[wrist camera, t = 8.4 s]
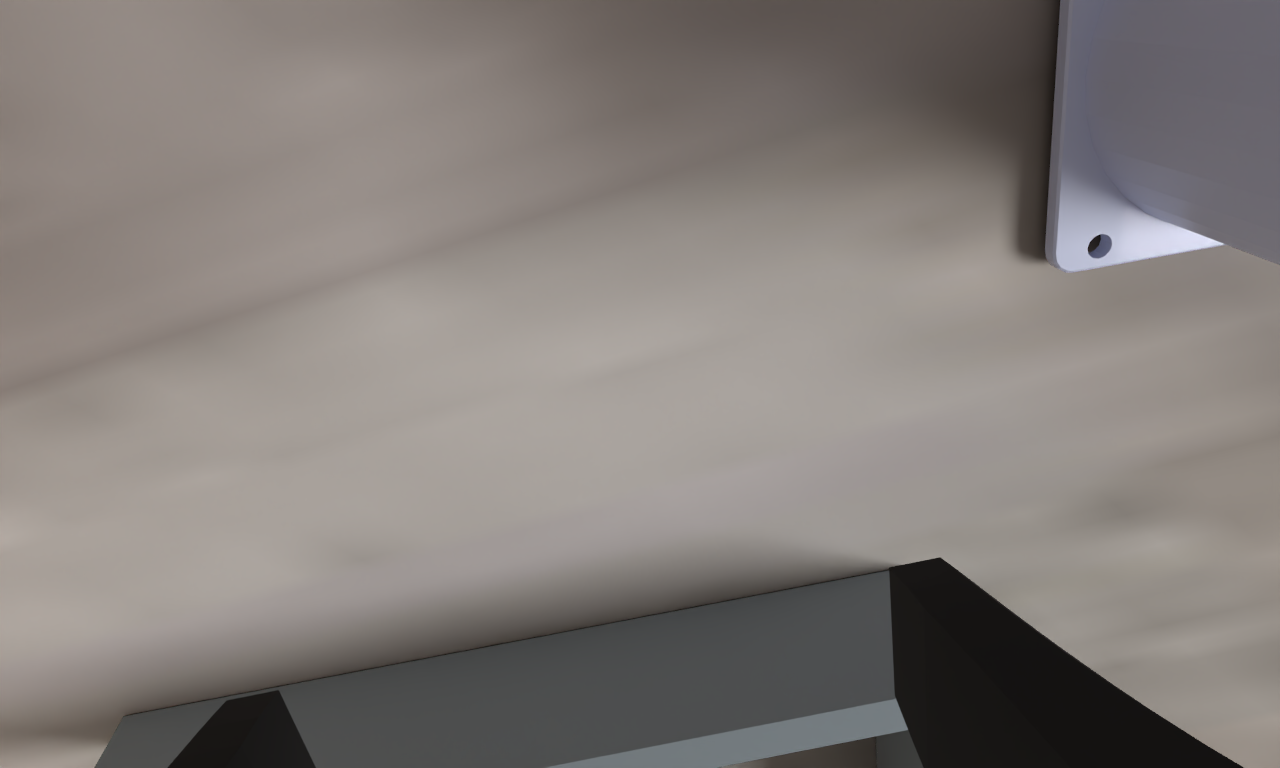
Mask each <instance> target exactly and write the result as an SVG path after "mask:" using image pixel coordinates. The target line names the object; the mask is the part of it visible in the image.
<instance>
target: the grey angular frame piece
mask: <svg viewBox="0 0 1280 768" xmlns="http://www.w3.org/2000/svg"><path fill="white" fill-rule="evenodd" d="M276 690H279V692H280V694H281V696H282V698H283V700H284V702H285V704H286V706H287V708H288V710H289V713H290V715H291V717H292V719H293V721H294V723H295V725H296V727H297V729H298V731H299V733H300V736H301V738H302V740H303V742H304V744H305V746H306V748H307V750H308V752H309V754H310V756H311V759H312V761H313V763H314V765H315V767H316V768H718V767H723V766H728V765H733V764H738V763H743V762H748V761H753V760H758V759H763V758H768V757H773V756H779V755H784V754H789V753H794V752H799V751H804V750H809V749H814V748H819V747H824V746H829V745H834V744H839V743H845V742H850V741H855V740H860V739H865V738H870V737H875V736H876V759H877V768H923V765H922V763H921V760H920V758H919V756H918V753H917V751H916V748H915V746H914V743H913V741H912V738H911V736H910V733H909V731H908V728H907V726H906V723H905V720H904V718H903V715H902V713H901V710H900V708H899V705H898V702H897V700H896V697H895V690H894V667H893V645H892V622H891V599H890V577H889V570H888V571H883V572H878V573H873V574H867V575H862V576H857V577H852V578H846V579H841V580H836V581H831V582H825V583H820V584H815V585H810V586H804V587H799V588H794V589H789V590H784V591H778V592H773V593H768V594H763V595H757V596H752V597H747V598H742V599H736V600H731V601H726V602H721V603H715V604H710V605H705V606H700V607H694V608H689V609H684V610H679V611H673V612H668V613H663V614H658V615H652V616H647V617H642V618H637V619H632V620H626V621H621V622H616V623H611V624H605V625H600V626H595V627H590V628H584V629H579V630H574V631H569V632H563V633H558V634H553V635H548V636H542V637H537V638H532V639H527V640H521V641H516V642H511V643H506V644H500V645H495V646H490V647H485V648H480V649H474V650H469V651H464V652H459V653H453V654H448V655H443V656H438V657H432V658H427V659H422V660H417V661H411V662H406V663H401V664H396V665H390V666H385V667H380V668H375V669H369V670H364V671H359V672H354V673H348V674H343V675H338V676H333V677H328V678H322V679H317V680H312V681H307V682H301V683H296V684H291V685H286V686H280V687H275V688H270V689H265V690H259V691H254V692H249V693H244V694H238V695H233V696H228V697H223V698H217V699H212V700H207V701H202V702H196V703H191V704H186V705H181V706H176V707H170V708H165V709H160V710H155V711H149V712H144V713H139V714H134V715H128V716H124V717H123V718H122V720H121V722H120V724H119V725H118V727H117V729H116V731H115V733H114V734H113V736H112V738H111V740H110V741H109V743H108V745H107V747H106V748H105V750H104V752H103V754H102V755H101V757H100V759H99V761H98V762H97V764H96V766H95V768H168V766H169V765H170V764H171V763H172V762H173V761H174V759H175V758H176V757H177V756H178V755H179V753H180V752H181V751H182V750H183V749H184V748H185V746H186V745H187V744H188V743H189V742H190V741H191V739H192V738H193V737H194V736H195V735H196V734H197V733H198V731H199V730H200V729H201V728H202V727H203V726H204V725H205V723H206V722H207V721H208V720H209V719H210V718H211V717H212V716H213V714H214V713H215V712H216V711H217V710H218V709H219V708H220V707H221V706H222V705H223V704H224V703H225V701H226V700H231V699H236V698H241V697H246V696H251V695H256V694H261V693H266V692H271V691H276Z"/></svg>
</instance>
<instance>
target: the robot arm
mask: <svg viewBox="0 0 1280 768" xmlns="http://www.w3.org/2000/svg"><path fill="white" fill-rule="evenodd" d="M1098 235H1100V236H1101V241H1100V243H1099V246H1098V247H1097V248H1096V249H1095V250H1094V251H1092V252H1090V253H1088V246H1089V243H1090V241H1091V240H1092V239H1093V238H1094V237H1095V236H1098ZM1222 245H1228V246H1231V247H1234V248H1236V249H1239V250H1241V251H1244V252H1247V253H1249V254H1252V255H1255V256H1257V257H1260V258H1262V259H1265V260H1268V261H1270V262H1273V263H1276V264H1278V265H1280V0H1060V15H1059V31H1058V47H1057V63H1056V79H1055V95H1054V112H1053V128H1052V144H1051V160H1050V176H1049V192H1048V208H1047V224H1046V240H1045V254H1046V259H1047V260H1048V262H1049V263H1050V265H1052V266H1054V267H1056V268H1058V269H1060V270H1062V271H1064V272H1078V271H1084V270H1090V269H1095V268H1101V267H1106V266H1112V265H1117V264H1123V263H1128V262H1134V261H1139V260H1145V259H1150V258H1156V257H1162V256H1167V255H1173V254H1178V253H1184V252H1189V251H1195V250H1200V249H1206V248H1211V247H1217V246H1222ZM889 577H890V599H891V622H892V645H893V667H894V690H895V697H896V700H897V702H898V705H899V708H900V710H901V713H902V715H903V718H904V720H905V723H906V726H907V728H908V731H909V733H910V736H911V738H912V741H913V743H914V746H915V748H916V751H917V753H918V756H919V758H920V760H921V763H922V765H923V768H1244V767H1242V766H1240V765H1239V764H1237V763H1235V762H1233V761H1232V760H1230V759H1228V758H1227V757H1225V756H1223V755H1222V754H1220V753H1218V752H1217V751H1215V750H1213V749H1212V748H1210V747H1208V746H1207V745H1205V744H1203V743H1202V742H1200V741H1199V740H1197V739H1195V738H1194V737H1192V736H1191V735H1189V734H1188V733H1186V732H1184V731H1183V730H1181V729H1180V728H1178V727H1177V726H1175V725H1174V724H1172V723H1170V722H1169V721H1167V720H1166V719H1164V718H1163V717H1161V716H1159V715H1158V714H1156V713H1155V712H1153V711H1152V710H1150V709H1148V708H1147V707H1145V706H1144V705H1143V704H1141V703H1140V702H1138V701H1137V700H1135V699H1134V698H1132V697H1131V696H1129V695H1128V694H1126V693H1125V692H1123V691H1122V690H1120V689H1119V688H1117V687H1116V686H1114V685H1113V684H1111V683H1110V682H1109V681H1107V680H1106V679H1104V678H1103V677H1101V676H1100V675H1099V674H1097V673H1096V672H1094V671H1093V670H1091V669H1090V668H1089V667H1087V666H1086V665H1084V664H1083V663H1082V662H1080V661H1079V660H1077V659H1076V658H1074V657H1073V656H1072V655H1070V654H1069V653H1067V652H1066V651H1064V650H1063V649H1062V648H1060V647H1059V646H1057V645H1056V644H1055V643H1053V642H1052V641H1051V640H1049V639H1048V638H1047V637H1045V636H1044V635H1042V634H1041V633H1040V632H1038V631H1037V630H1036V629H1034V628H1033V627H1032V626H1030V625H1029V624H1028V623H1026V622H1025V621H1024V620H1022V619H1021V618H1020V617H1018V616H1017V615H1016V614H1014V613H1013V612H1012V611H1010V610H1009V609H1008V608H1006V607H1005V606H1004V605H1002V604H1001V603H1000V602H998V601H997V600H996V599H995V598H993V597H992V596H991V595H989V594H988V593H987V592H985V591H984V590H983V589H981V588H980V587H979V586H978V585H976V584H975V583H974V582H972V581H971V580H970V579H968V578H967V577H966V576H964V575H963V574H962V573H961V572H959V571H958V570H957V569H955V568H954V567H953V566H951V565H950V564H949V563H947V562H946V561H944V560H943V559H941V558H935V559H930V560H925V561H920V562H915V563H910V564H905V565H900V566H895V567H890V568H889ZM168 768H316V767H315V765H314V763H313V761H312V759H311V756H310V754H309V752H308V750H307V748H306V746H305V744H304V742H303V740H302V738H301V736H300V733H299V731H298V729H297V727H296V725H295V723H294V721H293V719H292V717H291V715H290V713H289V710H288V708H287V706H286V704H285V702H284V700H283V698H282V696H281V694H280V692H279V690H276V691H271V692H266V693H261V694H256V695H251V696H246V697H241V698H236V699H231V700H226V701H225V703H224V704H223V705H222V706H221V707H220V708H219V709H218V710H217V711H216V712H215V713H214V714H213V716H212V717H211V718H210V719H209V720H208V721H207V722H206V723H205V725H204V726H203V727H202V728H201V729H200V730H199V731H198V733H197V734H196V735H195V736H194V737H193V738H192V739H191V741H190V742H189V743H188V744H187V745H186V746H185V748H184V749H183V750H182V751H181V752H180V753H179V755H178V756H177V757H176V758H175V759H174V761H173V762H172V763H171V764H170V765H169V766H168Z"/></svg>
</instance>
